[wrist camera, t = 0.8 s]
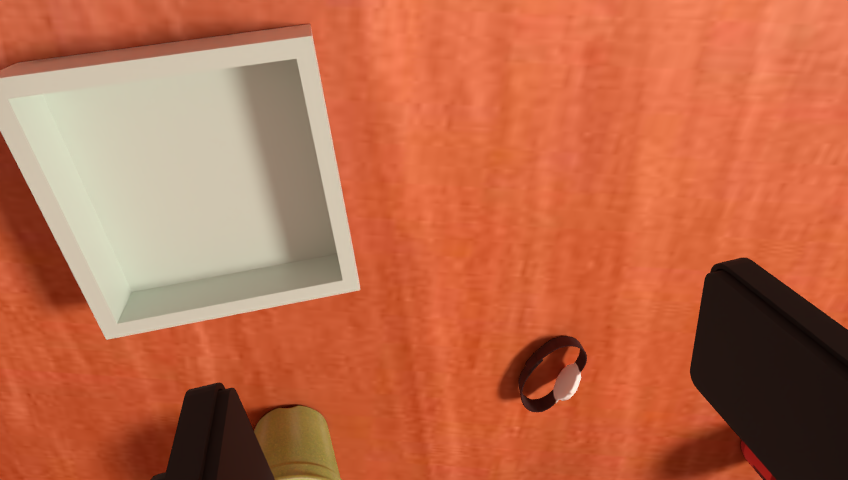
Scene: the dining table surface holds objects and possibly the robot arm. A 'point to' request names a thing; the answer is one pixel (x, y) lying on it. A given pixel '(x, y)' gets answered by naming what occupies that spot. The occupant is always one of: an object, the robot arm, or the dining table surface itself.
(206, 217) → the tray
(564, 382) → the watch
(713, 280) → the robot arm
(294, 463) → the plant pot
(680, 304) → the dining table surface
